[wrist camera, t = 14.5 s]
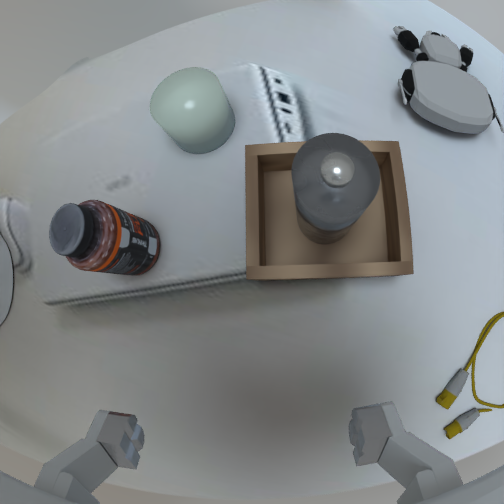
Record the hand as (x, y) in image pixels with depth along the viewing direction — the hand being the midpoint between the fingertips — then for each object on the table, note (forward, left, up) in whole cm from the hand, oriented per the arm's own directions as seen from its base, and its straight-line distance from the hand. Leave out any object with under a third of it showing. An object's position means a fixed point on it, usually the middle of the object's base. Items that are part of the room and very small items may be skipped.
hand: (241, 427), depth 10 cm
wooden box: (+4, +11, -18) cm, 22 cm away
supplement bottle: (-15, +9, -18) cm, 25 cm away
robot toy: (+20, +27, -19) cm, 38 cm away
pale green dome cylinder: (-8, +22, -18) cm, 30 cm away
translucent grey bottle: (+4, +11, -17) cm, 21 cm away
